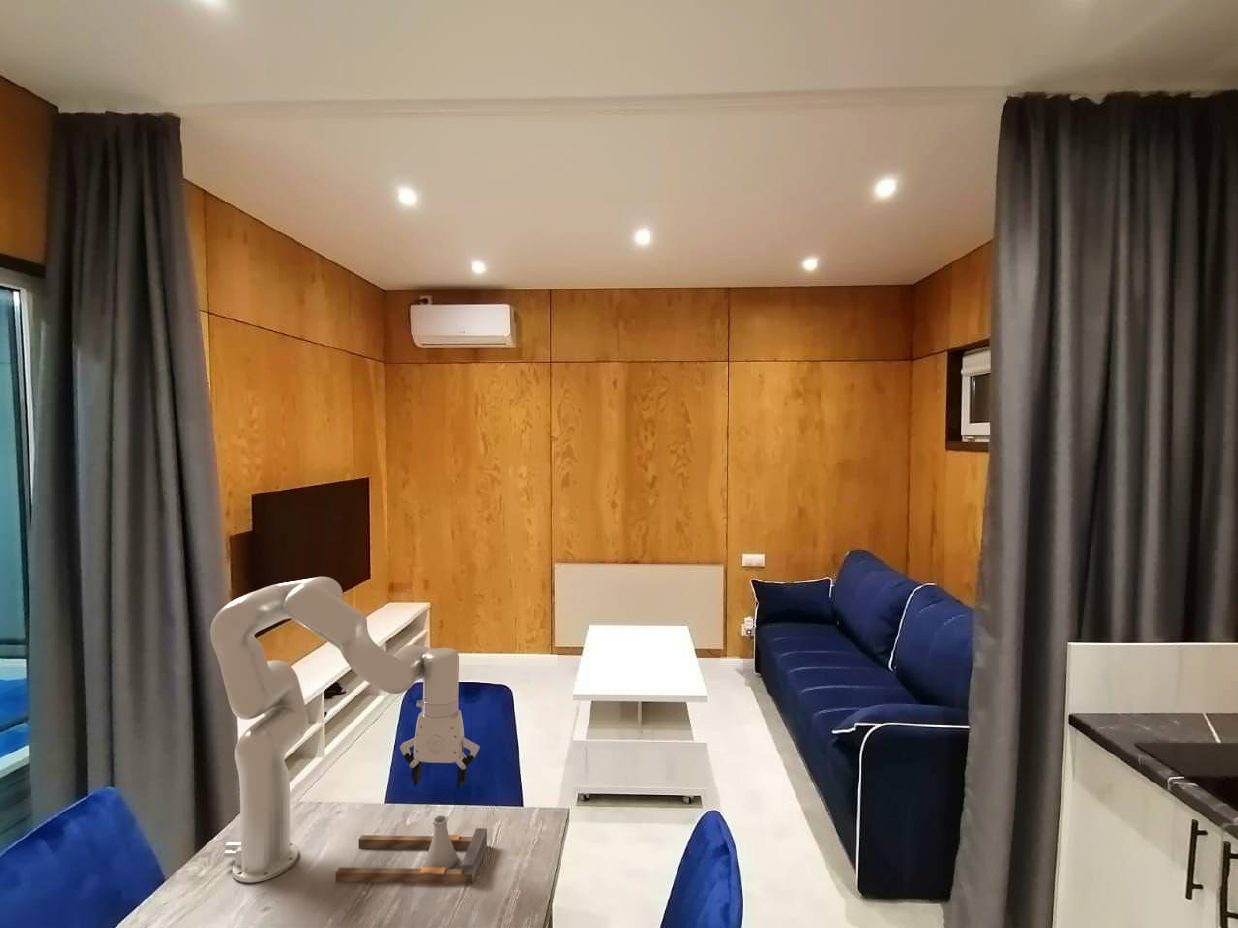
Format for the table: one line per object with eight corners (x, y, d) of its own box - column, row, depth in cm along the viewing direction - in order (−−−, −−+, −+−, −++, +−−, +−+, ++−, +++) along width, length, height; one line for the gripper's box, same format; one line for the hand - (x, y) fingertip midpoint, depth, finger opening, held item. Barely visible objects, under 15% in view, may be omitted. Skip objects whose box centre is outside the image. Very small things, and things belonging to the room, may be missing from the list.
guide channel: (335, 881, 129) (335, 862, 129) (361, 843, 142) (361, 826, 142) (473, 883, 129) (473, 864, 128) (487, 845, 141) (487, 828, 141)
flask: (447, 876, 131) (447, 830, 131) (417, 872, 132) (416, 826, 132) (463, 855, 138) (463, 811, 138) (433, 850, 139) (433, 807, 139)
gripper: (395, 712, 131) (393, 791, 131) (475, 714, 130) (473, 794, 131) (407, 698, 138) (406, 773, 139) (483, 700, 138) (482, 775, 138)
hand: (439, 783), depth 135 cm, fingers open, 9 cm apart
